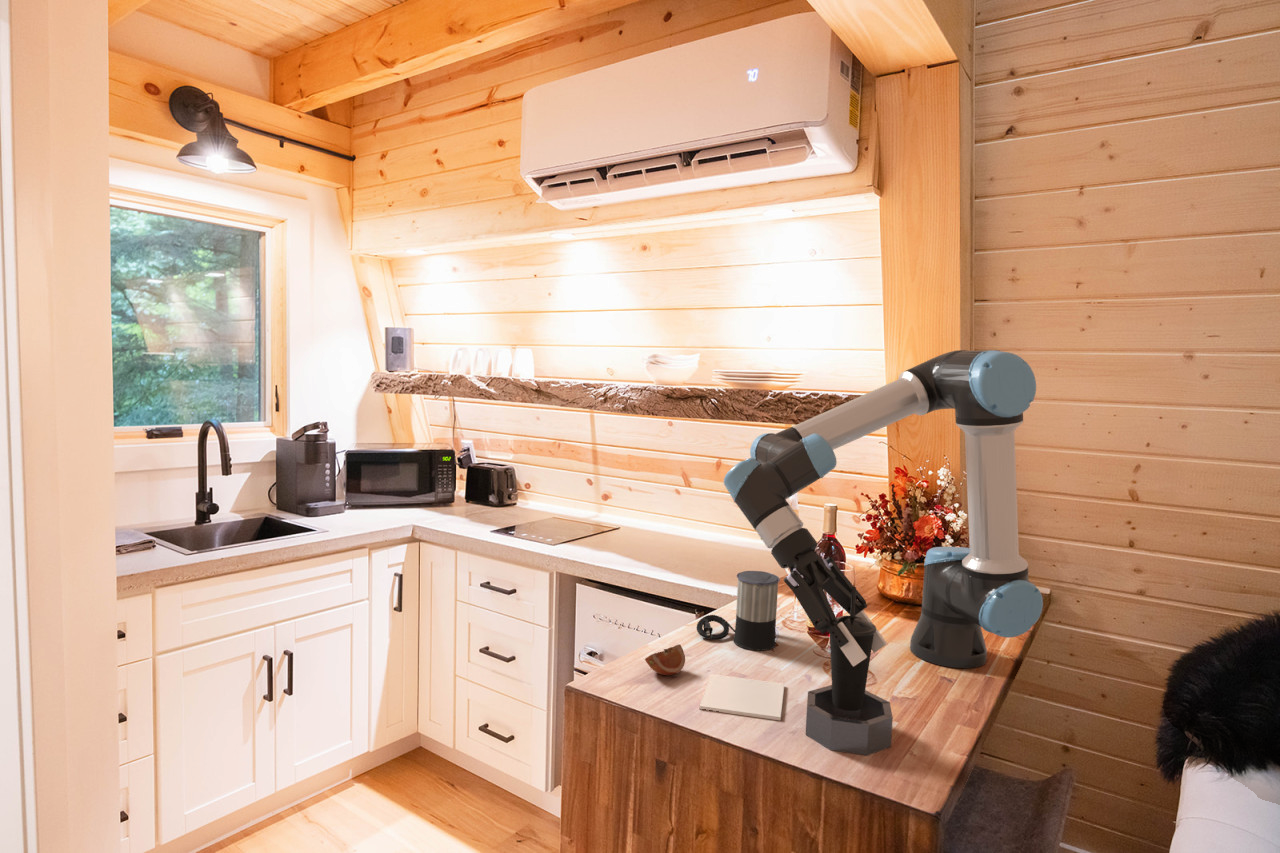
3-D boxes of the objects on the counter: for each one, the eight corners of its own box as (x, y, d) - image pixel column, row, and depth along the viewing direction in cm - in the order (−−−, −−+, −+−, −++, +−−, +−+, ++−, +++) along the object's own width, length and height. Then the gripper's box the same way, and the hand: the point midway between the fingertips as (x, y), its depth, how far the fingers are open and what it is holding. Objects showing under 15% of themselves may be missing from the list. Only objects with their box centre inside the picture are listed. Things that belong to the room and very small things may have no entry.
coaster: (784, 686, 146) (784, 683, 146) (780, 720, 132) (780, 717, 132) (710, 676, 149) (710, 673, 149) (699, 709, 135) (699, 705, 135)
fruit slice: (660, 685, 145) (661, 659, 144) (636, 673, 150) (637, 648, 149) (691, 673, 150) (692, 648, 150) (666, 662, 155) (667, 638, 155)
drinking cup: (820, 709, 126) (826, 590, 124) (827, 690, 133) (833, 577, 131) (868, 719, 123) (876, 597, 121) (873, 699, 131) (880, 584, 128)
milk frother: (783, 650, 164) (787, 581, 163) (714, 655, 160) (717, 585, 158) (755, 626, 178) (759, 563, 176) (690, 630, 173) (693, 566, 172)
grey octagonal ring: (885, 720, 134) (887, 692, 133) (892, 759, 121) (895, 728, 120) (806, 709, 137) (808, 682, 136) (805, 746, 124) (806, 716, 123)
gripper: (801, 540, 144) (880, 649, 135) (741, 561, 129) (825, 685, 120) (829, 517, 140) (912, 627, 131) (770, 535, 125) (859, 661, 116)
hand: (870, 654), depth 125 cm, fingers closed on drinking cup, 7 cm apart
